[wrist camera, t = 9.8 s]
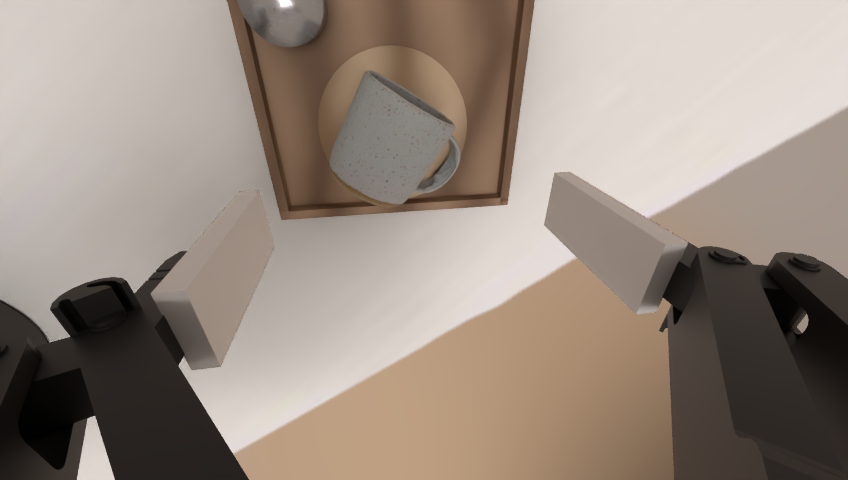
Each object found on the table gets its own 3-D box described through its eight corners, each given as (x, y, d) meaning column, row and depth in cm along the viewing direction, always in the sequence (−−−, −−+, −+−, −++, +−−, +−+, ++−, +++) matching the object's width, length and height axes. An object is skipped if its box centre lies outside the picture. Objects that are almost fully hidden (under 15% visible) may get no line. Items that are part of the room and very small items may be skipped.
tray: (286, 210, 33) (281, 219, 31) (222, -57, 22) (211, -65, 21) (500, 197, 35) (507, 204, 34) (529, -47, 25) (541, -54, 23)
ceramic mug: (327, 156, 29) (317, 188, 23) (365, 64, 26) (367, 71, 20) (429, 203, 33) (446, 242, 27) (473, 128, 30) (505, 151, 23)
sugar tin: (266, 47, 26) (248, 47, 22) (248, -39, 23) (223, -57, 19) (334, 47, 26) (329, 46, 22) (324, -37, 24) (315, -54, 20)
